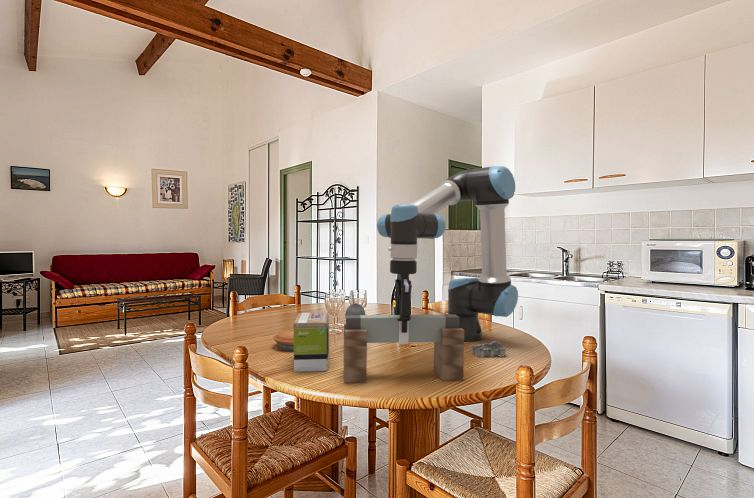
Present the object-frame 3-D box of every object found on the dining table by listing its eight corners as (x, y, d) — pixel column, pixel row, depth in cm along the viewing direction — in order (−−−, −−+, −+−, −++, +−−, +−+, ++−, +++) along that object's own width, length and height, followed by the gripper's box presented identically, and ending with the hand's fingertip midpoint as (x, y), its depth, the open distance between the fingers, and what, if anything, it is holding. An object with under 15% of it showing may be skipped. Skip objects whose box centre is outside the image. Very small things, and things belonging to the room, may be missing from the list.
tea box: (298, 356, 135) (298, 311, 134) (329, 356, 135) (329, 311, 135) (292, 372, 120) (293, 321, 119) (327, 371, 120) (328, 321, 120)
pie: (263, 348, 143) (263, 334, 143) (292, 338, 157) (292, 325, 157) (298, 355, 136) (298, 340, 136) (326, 344, 150) (326, 330, 150)
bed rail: (454, 338, 121) (455, 314, 121) (458, 341, 117) (459, 317, 117) (345, 339, 118) (345, 315, 118) (345, 343, 114) (346, 318, 114)
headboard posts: (453, 368, 125) (454, 322, 124) (463, 380, 115) (464, 330, 114) (343, 370, 121) (344, 323, 121) (344, 382, 112) (344, 331, 111)
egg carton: (499, 351, 144) (500, 340, 144) (507, 358, 136) (508, 346, 136) (469, 351, 143) (469, 339, 143) (475, 358, 136) (476, 345, 136)
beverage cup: (362, 351, 141) (363, 293, 141) (342, 349, 143) (342, 292, 142) (367, 345, 149) (368, 290, 148) (347, 344, 150) (348, 289, 149)
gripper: (386, 257, 125) (385, 333, 126) (394, 261, 108) (393, 350, 109) (411, 257, 126) (409, 333, 127) (422, 261, 109) (421, 349, 109)
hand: (402, 341), depth 118 cm, fingers open, 4 cm apart
